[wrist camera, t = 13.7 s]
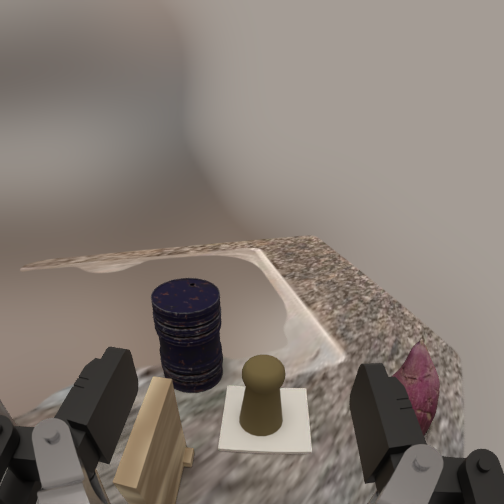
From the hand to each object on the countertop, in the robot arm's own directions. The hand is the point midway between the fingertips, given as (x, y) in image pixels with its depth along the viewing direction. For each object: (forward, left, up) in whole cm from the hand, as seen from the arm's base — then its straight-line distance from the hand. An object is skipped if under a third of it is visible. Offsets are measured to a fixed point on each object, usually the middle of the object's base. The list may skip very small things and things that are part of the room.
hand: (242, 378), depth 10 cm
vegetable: (+22, +20, -30) cm, 42 cm away
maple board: (-9, +8, -30) cm, 32 cm away
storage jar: (-10, +30, -30) cm, 43 cm away
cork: (+1, +20, -29) cm, 35 cm away
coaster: (+2, +21, -30) cm, 36 cm away
